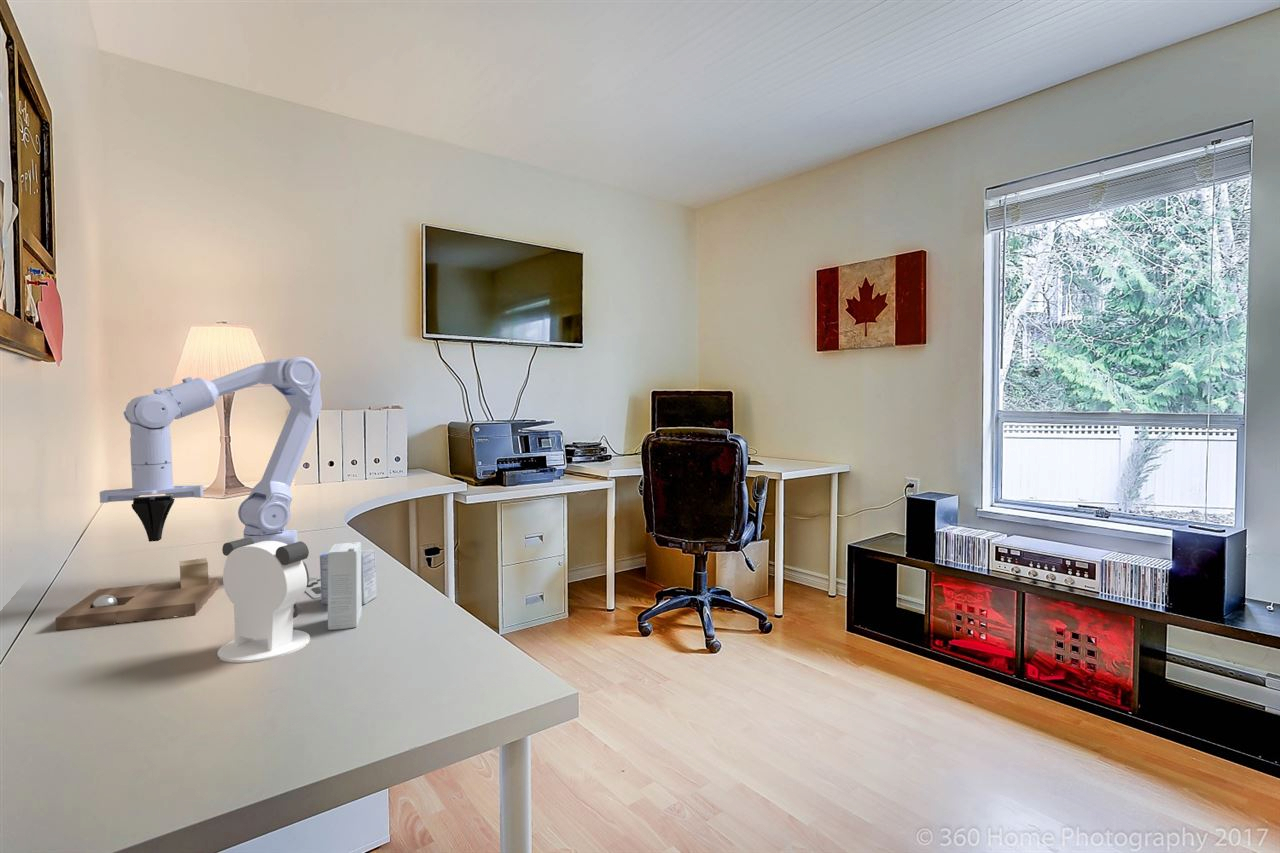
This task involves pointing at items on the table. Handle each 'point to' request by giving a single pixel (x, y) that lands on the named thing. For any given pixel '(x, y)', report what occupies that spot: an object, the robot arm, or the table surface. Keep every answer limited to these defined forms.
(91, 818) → the table surface
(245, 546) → the white rounded upright piece
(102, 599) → the ball
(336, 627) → the skincare box
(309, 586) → the handheld gaming device
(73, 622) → the board
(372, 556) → the medicine box
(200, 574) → the pale gold metal block
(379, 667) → the table surface
